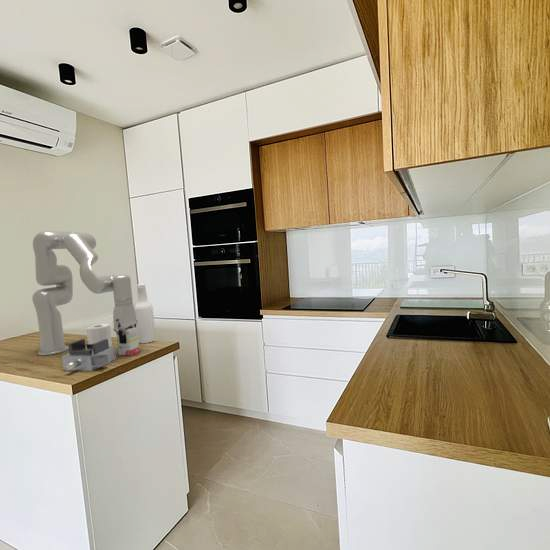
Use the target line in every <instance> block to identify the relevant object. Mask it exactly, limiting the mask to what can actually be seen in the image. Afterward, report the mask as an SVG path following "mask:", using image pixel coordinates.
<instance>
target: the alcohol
mask: <svg viewBox="0 0 550 550" xmlns="http://www.w3.org/2000/svg"><path fill="white" fill-rule="evenodd" d="M146 287H147V286H146V283H139V284H137V303H136V304H135V305H134V309H135V314H136V320H137V321H138V323H137V325H136V328H137V334H138V343H139V344H140V343H146V344H150V343H149V342H151V343H153V342H155V341H156V338H157V337H156V327H155V318H154V317H155V316H154V308H153V305H152V303H151V302H150V301H149V300H148V294H147V290H146ZM152 341H153V342H152Z"/></svg>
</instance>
